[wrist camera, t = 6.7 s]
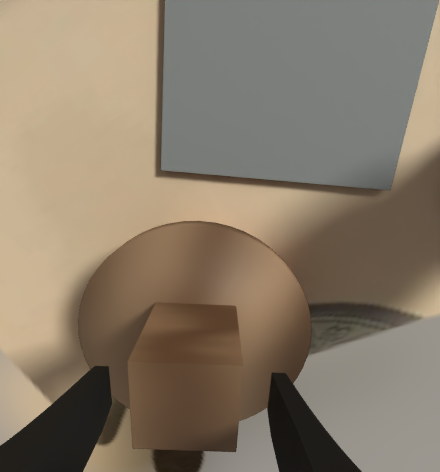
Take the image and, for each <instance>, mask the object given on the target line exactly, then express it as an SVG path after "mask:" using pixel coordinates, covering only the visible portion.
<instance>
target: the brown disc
mask: <svg viewBox="0 0 440 472" xmlns="http://www.w3.org/2000/svg"><path fill="white" fill-rule="evenodd" d="M78 327H79V338H80V343H81V348H82V351H83V354H84V357H85V359H86V361H87V363H88V365H89V367H90V369H92V368H93V367H94V366H109V374H110V386H111V395H112V396H113V397H114V398H115V399H116V400H117V401H119V402H120V403H122V404H123V405H124V406H126V407H127V408H129V409H130V413H131V430H132V446H133V449H162V450H191V451H222V452H236V448H237V435H238V424H239V421H241V420H244V419H247V418H249V417H251V416H253V415H255V414H257V413H259V412H261V411H262V410H264V409H266V408H267V407H268V400H269V391H270V383H271V375H272V372H273V373H286V374H287V375H288V377H289V378H290V380H291V381H292V383H294V381H295V380H296V379H297V377H298V375H299V373H300V372H301V370H302V368H303V366H304V363H305V361H306V358H307V356H308V352H309V348H310V343H311V332H312V327H311V315H310V311H309V306H308V302H307V300H306V297H305V295H304V292H303V290H302V288H301V286H300V284H299V283H298V281H297V279H296V277H295V276H294V275H293V273H292V272H291V270H290V269H289V268H288V266H287V265H286V264H285V262H284V261H283V260H282V259H281V258H280V257H279V256H278V255H277V254H276V253H275V252H274V251H273V250H272V249H271V248H270V247H269V246H267V245H266V244H264V243H263V242H262V241H260V240H259V239H257V238H255V237H253V236H252V235H250V234H248V233H246V232H244V231H241V230H239V229H236V228H233V227H231V226H227V225H222V224H218V223H212V222H203V221H183V222H177V223H170V224H166V225H162V226H159V227H155V228H152V229H150V230H148V231H145V232H143V233H141V234H139V235H137V236H136V237H134V238H132V239H131V240H129V241H127V242H126V243H125V244H124V245H122V246H121V247H120V248H119V249H117V250H116V251H115V252H114V253H113V254H111V255H110V256H109V257H108V258H107V259H106V260H105V261H104V262H103V263H102V264H101V265H100V267H99V268H98V269H97V270H96V272H95V273H94V275H93V276H92V278H91V279H90V281H89V283H88V285H87V287H86V290H85V292H84V294H83V298H82V301H81V305H80V310H79V319H78Z"/></svg>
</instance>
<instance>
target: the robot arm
mask: <svg viewBox="0 0 440 472" xmlns="http://www.w3.org/2000/svg"><path fill="white" fill-rule="evenodd" d="M111 404H112V398H111V386H110V374H109V366H94V367H93V368H92V369H91V370H90V371H88V372H87V373H86V374H85V375H84V376H83V377H82V378H81V379H80V380H79V381H78V382H76V383H75V384H74V385H73V386H72V387H71V388H70V389H69V390H68V391H67V392H65V393H64V394H63V395H62V396H61V397H60V398H59V399H57V400H56V401H55V402H54V403H53V404H52V405H51V406H50V407H48V408H47V409H46V410H45V411H44V412H43V413H41V414H40V415H39V416H38V417H36V418H35V419H34V420H33V421H32V422H31V423H29V424H28V425H27V426H26V427H24V428H23V429H22V430H21V431H20V432H18V433H17V434H15V435H14V436H13V437H12V438H10V439H9V440H8V441H7V442H5V443H4V444H2V445H1V446H0V472H83V470H84V468H85V466H86V464H87V462H88V460H89V458H90V456H91V454H92V451H93V449H94V447H95V445H96V443H97V441H98V439H99V436H100V434H101V432H102V430H103V427H104V424H105V422H106V419H107V416H108V413H109V410H110V407H111ZM267 410H268V417H269V425H270V432H271V438H272V442H273V447H274V451H275V455H276V459H277V464H278V468H279V472H361V470H360V469H359V468H358V467H357V466H356V465H355V464H354V463H353V462H352V461H351V459H350V458H349V457H348V456H347V455H346V454H345V453H344V451H343V450H342V449H341V448H340V447H339V446H338V444H337V443H336V442H335V441H334V440H333V438H332V437H331V436H330V435H329V433H328V432H327V431H326V430H325V428H324V427H323V426H322V424H321V423H320V422H319V420H318V419H317V418H316V416H315V415H314V414H313V412H312V411H311V409H310V408H309V407H308V406H307V404H306V402H305V401H304V400H303V398H302V397H301V395H300V394H299V392H298V391H297V389H296V388H295V386H294V385H293V383H292V381H291V380H290V378H289V377H288V375H287V374H286V373H273V372H272V375H271V383H270V391H269V400H268V409H267Z"/></svg>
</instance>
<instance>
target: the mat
mask: <svg viewBox="0 0 440 472" xmlns="http://www.w3.org/2000/svg"><path fill="white" fill-rule="evenodd" d="M438 3H439V0H165V22H164V63H163V105H162V146H161V170H164V171H175V172H187V173H198V174H210V175H221V176H232V177H244V178H255V179H267V180H278V181H290V182H301V183H312V184H324V185H335V186H347V187H358V188H369V189H381V190H391V186H392V182H393V178H394V174H395V171H396V167H397V163H398V159H399V155H400V151H401V147H402V143H403V139H404V135H405V131H406V128H407V124H408V120H409V116H410V112H411V108H412V104H413V100H414V96H415V92H416V88H417V85H418V81H419V77H420V73H421V69H422V65H423V61H424V57H425V53H426V49H427V46H428V42H429V38H430V34H431V30H432V26H433V22H434V18H435V14H436V10H437V6H438Z"/></svg>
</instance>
